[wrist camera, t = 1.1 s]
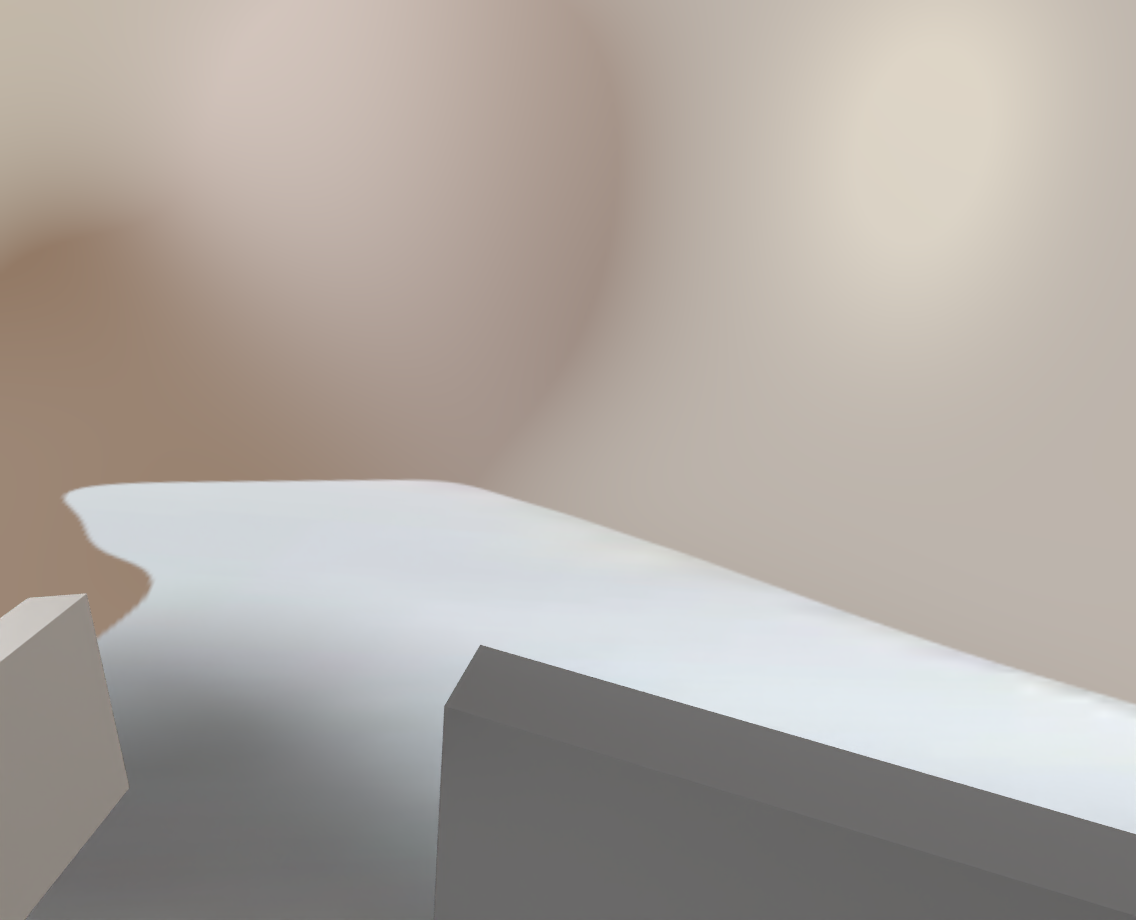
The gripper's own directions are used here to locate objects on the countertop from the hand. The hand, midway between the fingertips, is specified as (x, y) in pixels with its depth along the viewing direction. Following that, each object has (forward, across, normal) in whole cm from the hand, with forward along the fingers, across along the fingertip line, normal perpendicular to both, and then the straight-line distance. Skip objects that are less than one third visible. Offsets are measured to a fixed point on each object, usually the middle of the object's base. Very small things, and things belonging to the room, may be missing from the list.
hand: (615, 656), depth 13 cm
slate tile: (+13, +1, -20) cm, 24 cm away
